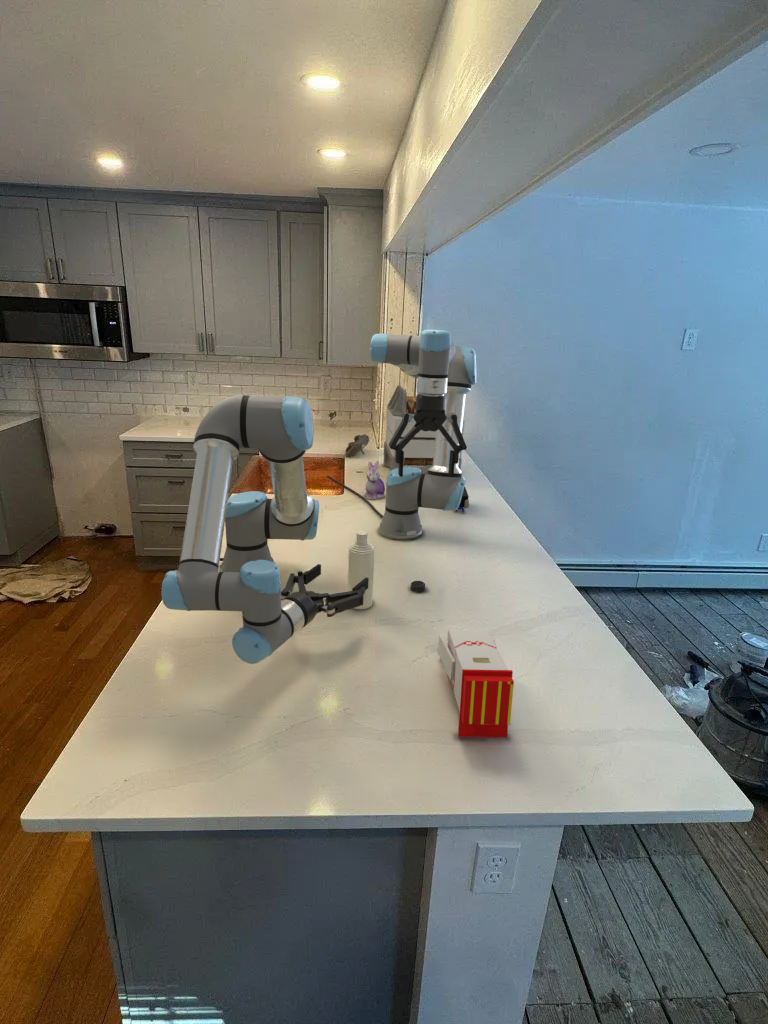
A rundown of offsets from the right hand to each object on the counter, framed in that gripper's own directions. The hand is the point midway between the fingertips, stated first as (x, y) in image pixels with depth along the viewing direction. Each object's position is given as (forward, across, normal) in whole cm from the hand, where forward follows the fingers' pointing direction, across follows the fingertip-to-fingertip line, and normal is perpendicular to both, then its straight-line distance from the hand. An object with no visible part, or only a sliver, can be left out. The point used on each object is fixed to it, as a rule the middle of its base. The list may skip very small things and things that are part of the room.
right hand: (425, 475), depth 150 cm
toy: (+34, +2, -46) cm, 57 cm away
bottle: (+34, -17, -7) cm, 38 cm away
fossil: (+34, -3, +156) cm, 160 cm away
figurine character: (+34, +30, +68) cm, 81 cm away
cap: (+32, 0, 0) cm, 32 cm away
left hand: (+21, -22, -15) cm, 35 cm away
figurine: (+34, -2, +83) cm, 89 cm away
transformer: (+34, +24, +119) cm, 126 cm away
